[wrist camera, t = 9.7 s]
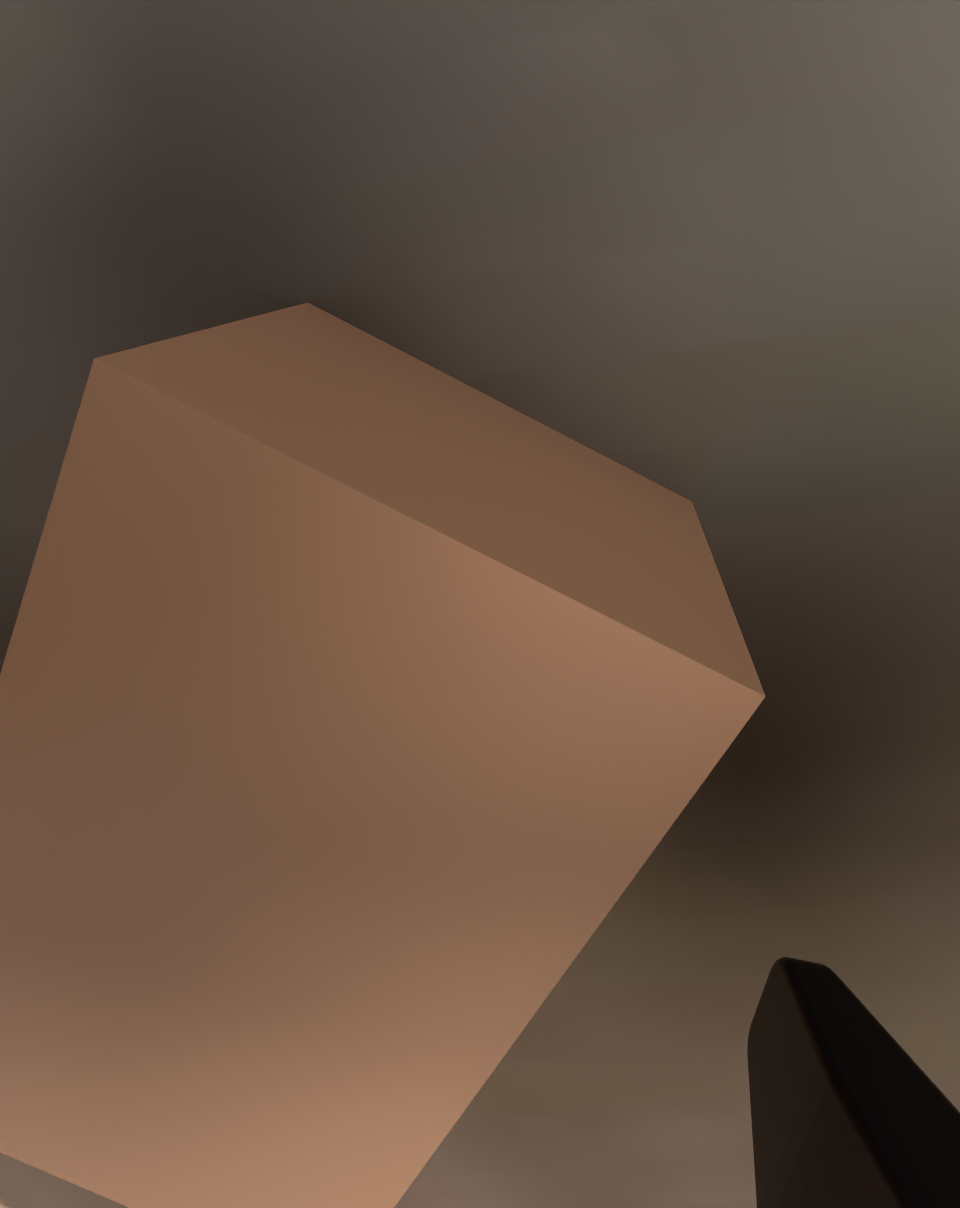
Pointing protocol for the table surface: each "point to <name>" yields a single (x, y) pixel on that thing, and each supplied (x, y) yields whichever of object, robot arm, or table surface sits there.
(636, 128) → the table surface
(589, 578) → the terracotta brick
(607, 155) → the table surface
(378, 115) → the table surface
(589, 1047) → the table surface
